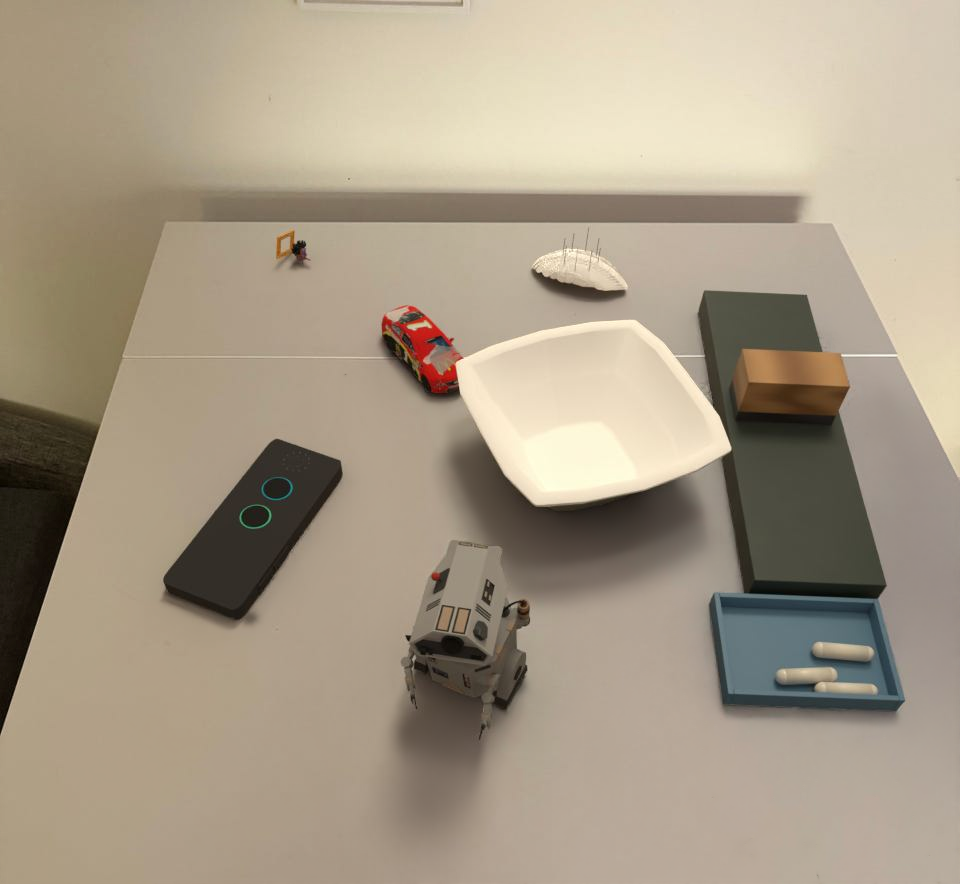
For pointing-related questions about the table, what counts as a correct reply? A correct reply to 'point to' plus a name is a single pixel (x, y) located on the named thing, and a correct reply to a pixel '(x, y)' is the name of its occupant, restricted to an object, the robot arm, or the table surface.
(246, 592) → the smart home device
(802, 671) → the chalk
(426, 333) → the race car
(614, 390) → the bowl
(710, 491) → the table surface
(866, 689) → the chalk
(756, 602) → the tray
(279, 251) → the toy figure with frame
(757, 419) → the eraser
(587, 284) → the pincushion
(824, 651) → the chalk
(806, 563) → the board
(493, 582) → the figurine
